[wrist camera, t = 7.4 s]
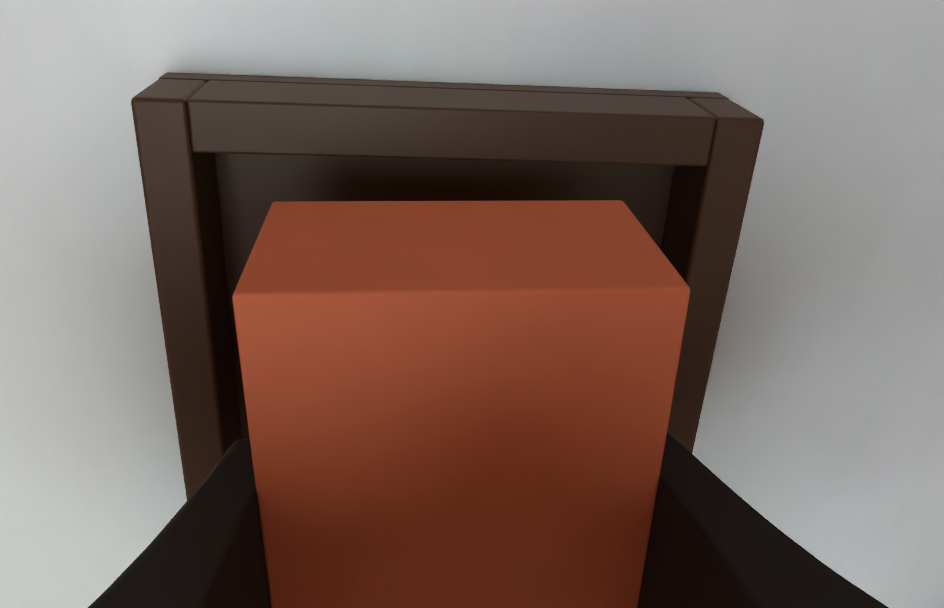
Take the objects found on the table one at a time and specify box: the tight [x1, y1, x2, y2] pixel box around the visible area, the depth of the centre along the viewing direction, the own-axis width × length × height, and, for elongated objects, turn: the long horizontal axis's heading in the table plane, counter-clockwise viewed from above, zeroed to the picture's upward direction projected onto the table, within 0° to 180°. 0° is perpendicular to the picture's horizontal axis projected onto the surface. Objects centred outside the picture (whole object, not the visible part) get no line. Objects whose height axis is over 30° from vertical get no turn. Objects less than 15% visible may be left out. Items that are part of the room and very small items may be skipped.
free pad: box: [232, 200, 690, 608], centre depth 12 cm, size 5×8×3 cm, turn 178°
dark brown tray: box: [131, 73, 764, 501], centre depth 17 cm, size 10×20×2 cm, turn 177°
